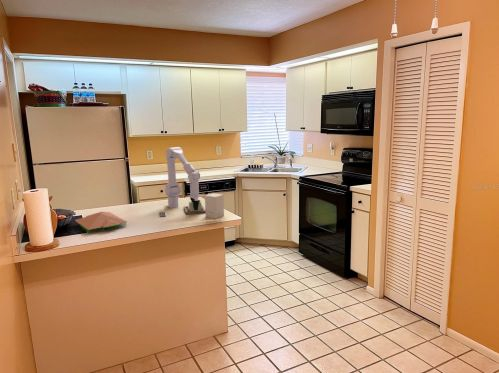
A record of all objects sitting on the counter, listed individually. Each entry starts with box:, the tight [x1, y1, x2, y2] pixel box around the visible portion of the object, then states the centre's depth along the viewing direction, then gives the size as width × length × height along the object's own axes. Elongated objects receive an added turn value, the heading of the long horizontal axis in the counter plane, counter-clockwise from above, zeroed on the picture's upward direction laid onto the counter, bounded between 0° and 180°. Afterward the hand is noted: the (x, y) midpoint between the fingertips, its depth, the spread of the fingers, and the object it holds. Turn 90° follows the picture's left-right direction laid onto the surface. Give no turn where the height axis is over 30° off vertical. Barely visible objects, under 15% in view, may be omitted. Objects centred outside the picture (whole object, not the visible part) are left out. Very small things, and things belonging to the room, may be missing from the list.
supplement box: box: [204, 192, 225, 220], centre depth 241 cm, size 9×9×15 cm
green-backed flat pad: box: [74, 211, 128, 235], centre depth 226 cm, size 23×33×8 cm
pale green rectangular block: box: [188, 200, 202, 212], centre depth 251 cm, size 4×8×7 cm, turn 106°
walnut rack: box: [183, 204, 206, 216], centre depth 255 cm, size 17×13×2 cm
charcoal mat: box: [158, 211, 166, 218], centre depth 250 cm, size 10×14×1 cm
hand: (195, 208), depth 251 cm, fingers open, 7 cm apart
